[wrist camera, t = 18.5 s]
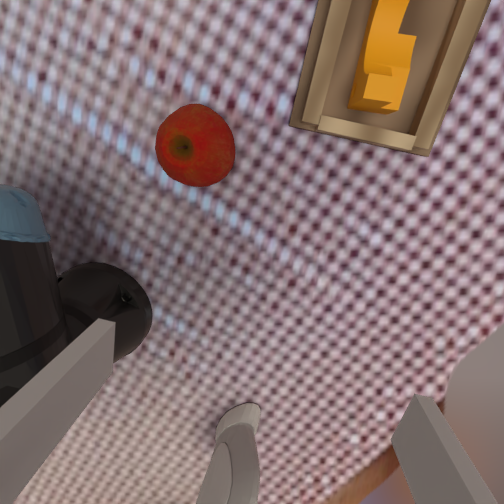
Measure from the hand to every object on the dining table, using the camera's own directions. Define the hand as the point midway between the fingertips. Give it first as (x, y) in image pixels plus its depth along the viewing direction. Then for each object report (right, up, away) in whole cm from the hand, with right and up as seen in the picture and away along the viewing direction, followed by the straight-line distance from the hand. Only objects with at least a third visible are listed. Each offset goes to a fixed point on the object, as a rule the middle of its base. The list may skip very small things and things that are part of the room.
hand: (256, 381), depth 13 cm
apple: (-6, +18, +23) cm, 30 cm away
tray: (+14, +27, +18) cm, 35 cm away
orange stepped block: (+13, +27, +17) cm, 34 cm away
